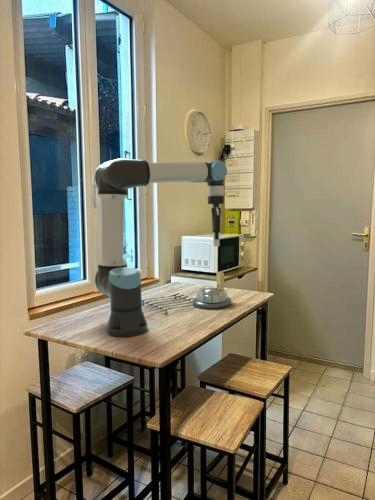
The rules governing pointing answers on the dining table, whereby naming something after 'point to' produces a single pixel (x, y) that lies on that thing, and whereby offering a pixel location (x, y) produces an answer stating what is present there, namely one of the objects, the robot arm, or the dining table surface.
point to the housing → (212, 305)
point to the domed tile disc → (218, 298)
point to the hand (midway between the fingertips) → (216, 246)
